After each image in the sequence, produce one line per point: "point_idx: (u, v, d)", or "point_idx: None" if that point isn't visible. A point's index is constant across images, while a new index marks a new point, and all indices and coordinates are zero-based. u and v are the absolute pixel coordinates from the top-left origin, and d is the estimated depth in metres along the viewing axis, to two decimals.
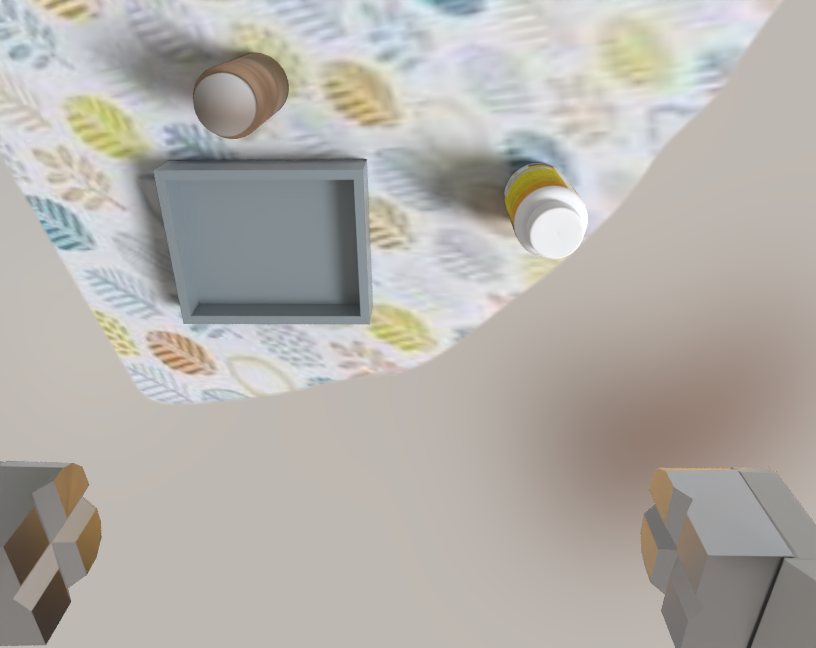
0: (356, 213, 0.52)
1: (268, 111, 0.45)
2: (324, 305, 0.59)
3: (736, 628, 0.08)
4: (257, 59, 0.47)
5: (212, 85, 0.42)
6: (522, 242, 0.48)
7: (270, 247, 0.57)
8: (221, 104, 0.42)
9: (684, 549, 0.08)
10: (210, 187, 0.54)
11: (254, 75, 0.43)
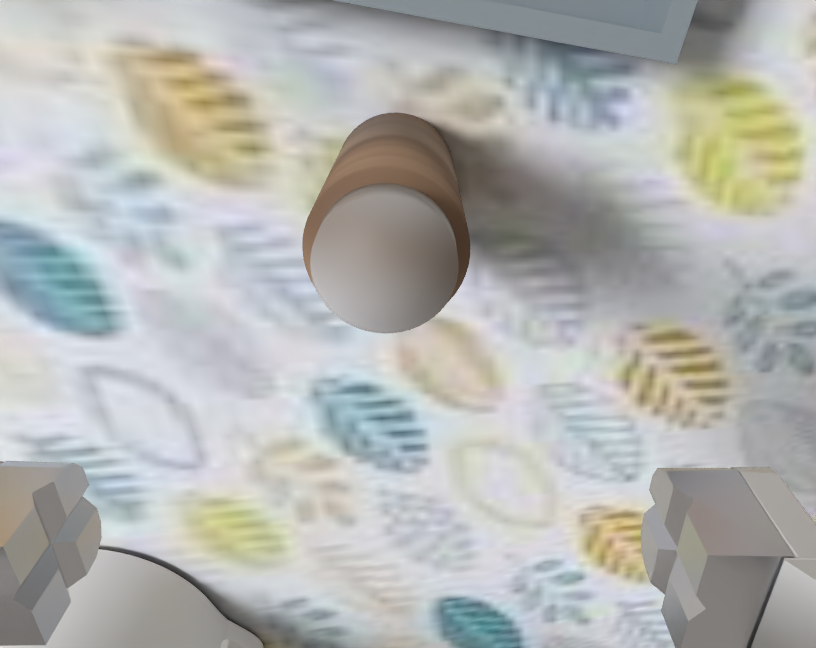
0: None
1: None
2: None
3: (736, 628, 0.08)
4: None
5: (397, 312, 0.18)
6: None
7: None
8: (388, 272, 0.17)
9: (683, 549, 0.08)
10: None
11: None
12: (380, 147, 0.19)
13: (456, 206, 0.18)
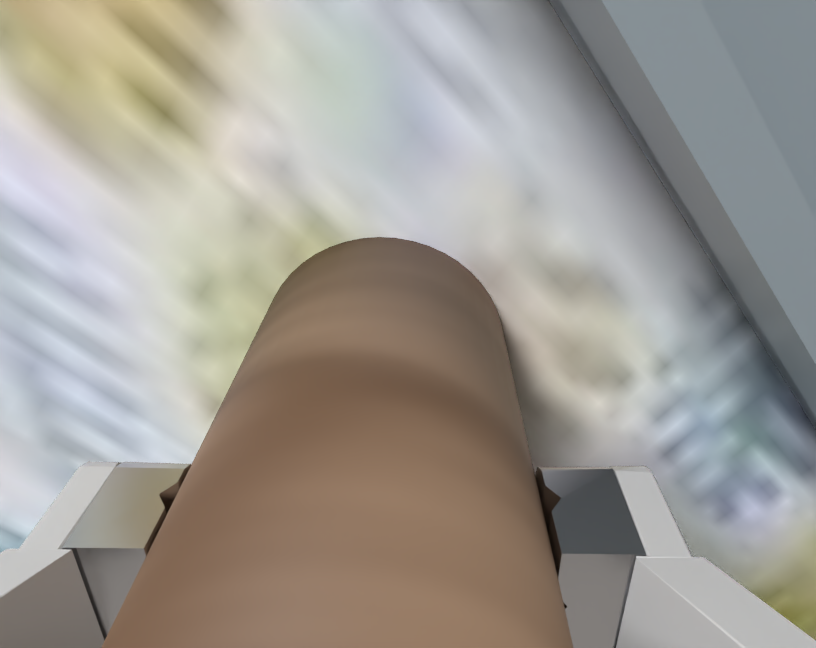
0: None
1: (250, 530, 0.05)
2: None
3: (600, 626, 0.08)
4: None
5: None
6: None
7: None
8: None
9: None
10: None
11: None
12: (484, 506, 0.06)
13: None
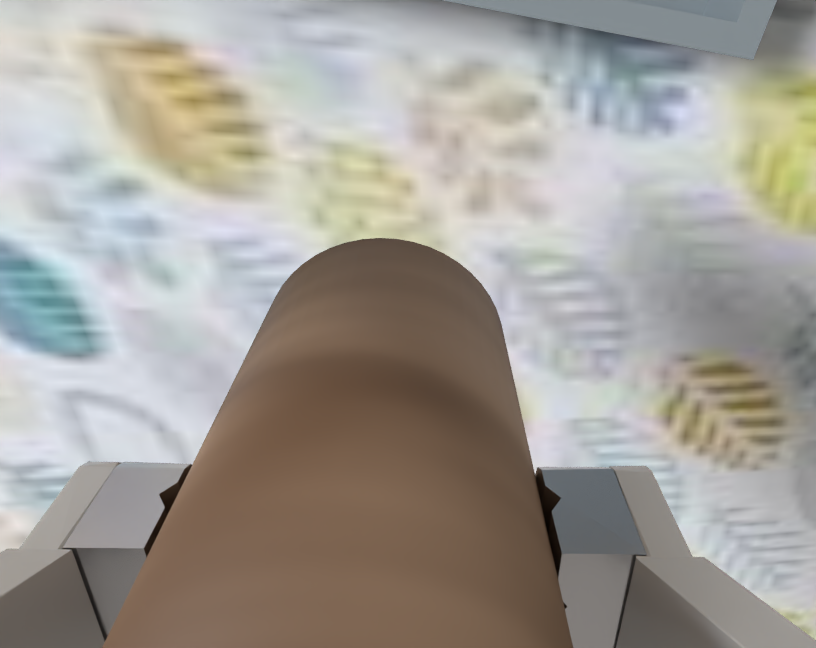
0: None
1: (251, 530, 0.05)
2: None
3: (600, 626, 0.08)
4: None
5: None
6: None
7: None
8: None
9: None
10: None
11: None
12: (484, 506, 0.06)
13: None
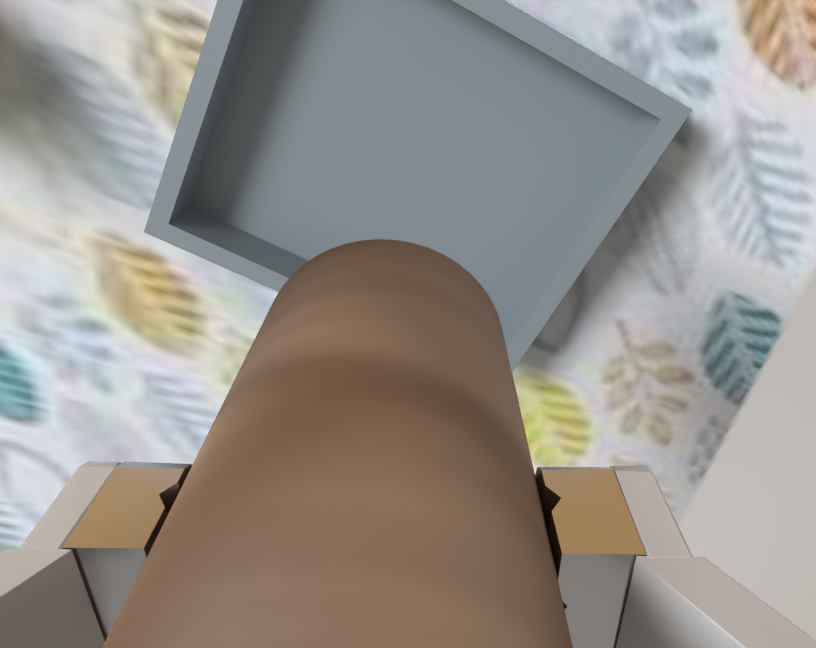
0: (186, 161, 0.25)
1: (250, 532, 0.05)
2: None
3: (600, 626, 0.08)
4: None
5: None
6: None
7: (419, 151, 0.27)
8: None
9: None
10: None
11: None
12: (484, 507, 0.06)
13: None
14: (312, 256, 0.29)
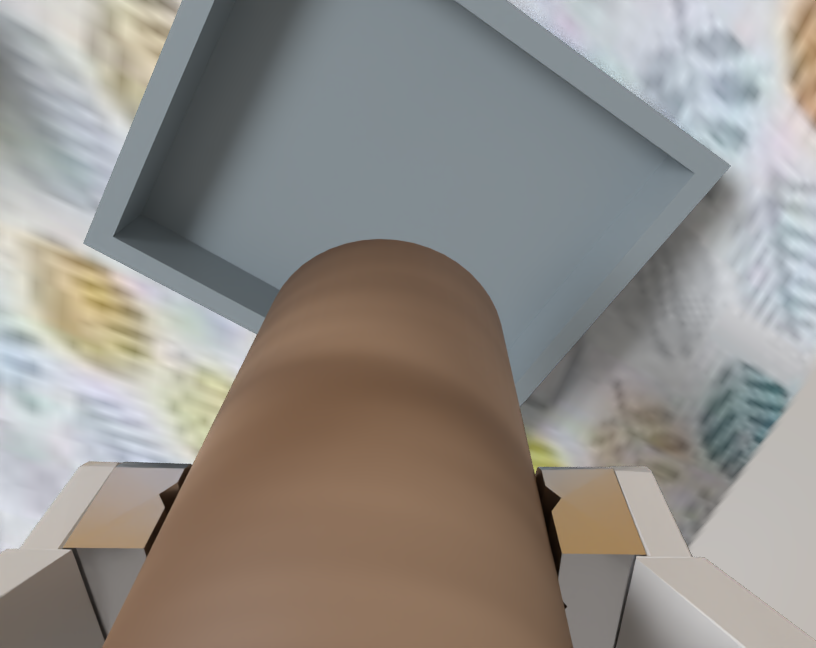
0: (139, 166, 0.21)
1: (250, 532, 0.05)
2: None
3: (600, 626, 0.08)
4: None
5: None
6: None
7: (414, 178, 0.23)
8: None
9: None
10: None
11: None
12: (485, 507, 0.06)
13: None
14: (281, 284, 0.26)
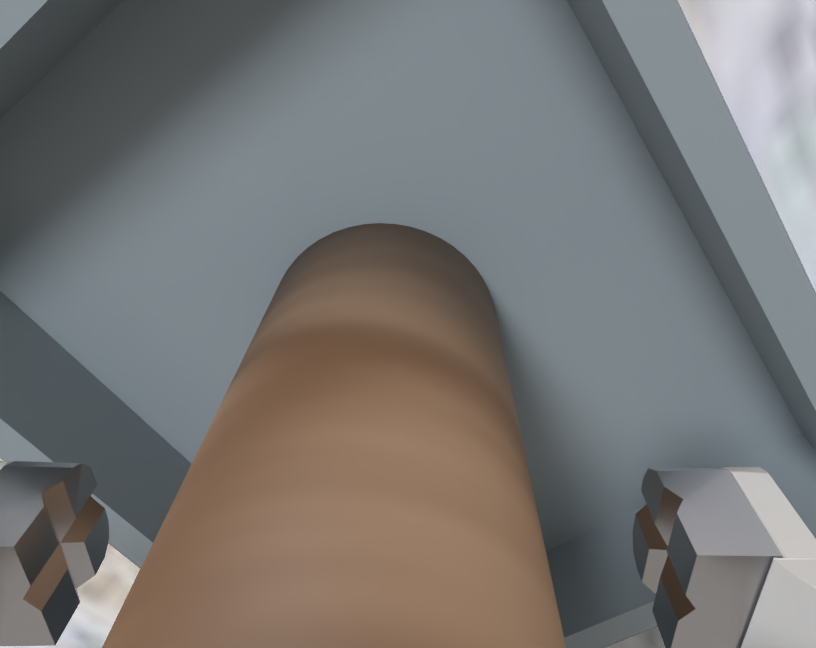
0: None
1: (269, 467, 0.06)
2: None
3: (726, 628, 0.08)
4: None
5: None
6: None
7: None
8: None
9: (674, 549, 0.08)
10: None
11: None
12: (473, 451, 0.07)
13: None
14: (136, 401, 0.15)
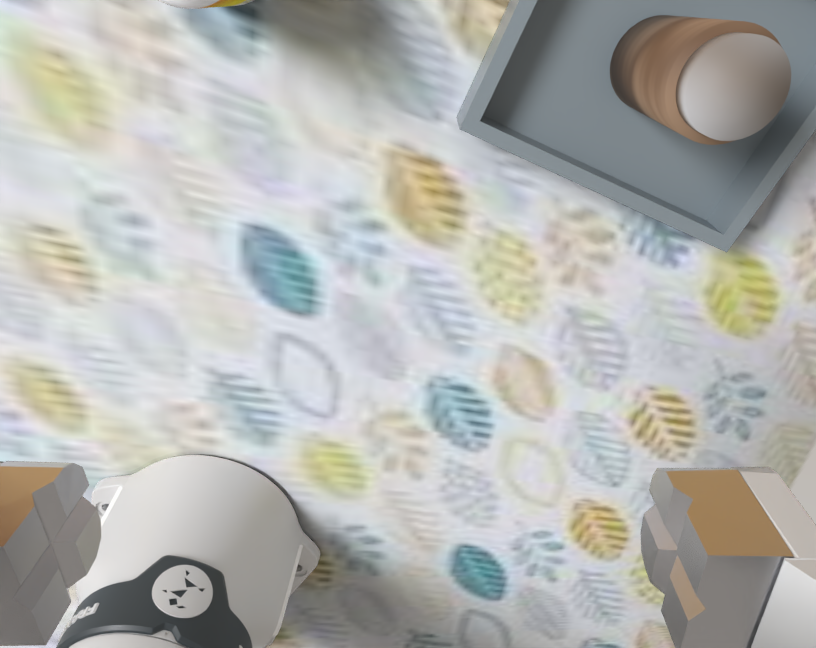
0: (503, 67, 0.32)
1: (673, 39, 0.27)
2: None
3: (736, 628, 0.08)
4: (637, 108, 0.32)
5: (731, 125, 0.26)
6: None
7: None
8: (739, 92, 0.25)
9: (684, 550, 0.08)
10: (680, 183, 0.37)
11: (660, 105, 0.27)
12: None
13: None
14: (570, 151, 0.36)
